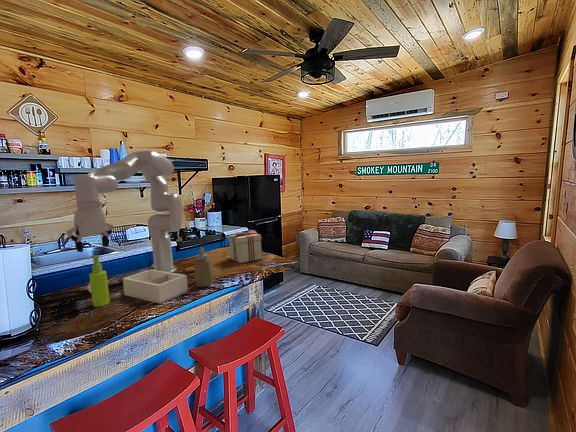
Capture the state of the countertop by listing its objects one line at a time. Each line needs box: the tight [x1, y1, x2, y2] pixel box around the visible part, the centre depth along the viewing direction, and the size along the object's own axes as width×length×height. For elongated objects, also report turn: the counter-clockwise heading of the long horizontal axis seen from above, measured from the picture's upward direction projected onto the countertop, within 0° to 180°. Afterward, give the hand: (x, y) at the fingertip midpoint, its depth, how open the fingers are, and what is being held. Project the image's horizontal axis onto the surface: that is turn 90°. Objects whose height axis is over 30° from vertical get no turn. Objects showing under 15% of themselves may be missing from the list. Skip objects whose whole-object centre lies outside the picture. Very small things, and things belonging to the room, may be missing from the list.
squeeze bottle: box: [194, 246, 214, 288], centre depth 139 cm, size 8×8×18 cm
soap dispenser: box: [88, 254, 111, 308], centre depth 123 cm, size 6×7×20 cm
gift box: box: [225, 229, 263, 264], centre depth 184 cm, size 17×18×17 cm
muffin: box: [86, 282, 91, 294], centre depth 137 cm, size 6×6×7 cm
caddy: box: [122, 269, 189, 305], centre depth 133 cm, size 24×14×8 cm, turn 60°
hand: (93, 249), depth 121 cm, fingers open, 9 cm apart
